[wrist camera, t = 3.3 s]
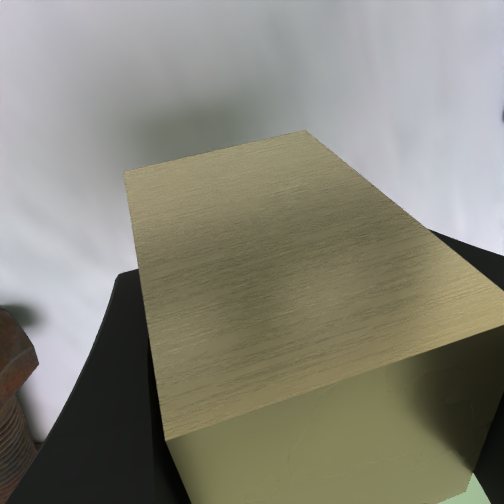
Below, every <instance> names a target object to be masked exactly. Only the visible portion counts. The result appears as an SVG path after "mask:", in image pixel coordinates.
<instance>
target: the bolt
mask: <svg viewBox="0 0 504 504" xmlns="http://www.w3.org/2000/svg"><path fill="white" fill-rule="evenodd" d="M38 365H39V362H38V358H37V355H36V352H35V349H34V346H33V344H32V342H31V341H30V339H29V338H28V336H27V335H26V333H25V332H24V331H23V329H22V328H21V327H20V325H19V324H18V323H17V322H16V320H15V319H14V318H13V317H12V315H10V314H9V313H8V312H7V311H5V310H3V309H0V504H4V503H5V502H6V500H7V499H8V497H9V496H10V494H11V493H12V491H13V490H14V488H15V487H16V485H17V484H18V482H19V481H20V479H21V478H22V476H23V474H24V473H25V471H26V470H27V468H28V467H29V465H30V463H31V462H32V460H33V459H34V457H35V456H36V454H37V452H38V451H39V449H40V448H41V446H42V444H41V443H33V441H32V438H31V435H30V432H29V429H28V426H27V423H26V421H25V418H24V416H23V413H22V410H21V407H20V405H19V402H18V399H17V396H16V392H17V391H18V389H19V388H20V387H21V386H22V385H23V383H24V382H25V381H26V380H27V378H28V377H29V376H30V375H31V374H32V372H33V371H34V370H35V369H36V367H37V366H38Z"/></svg>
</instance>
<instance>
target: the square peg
mask: <svg viewBox="0 0 504 504" xmlns="http://www.w3.org/2000/svg"><path fill="white" fill-rule="evenodd" d="M123 172H124V178H125V185H126V191H127V197H128V204H129V210H130V217H131V223H132V230H133V236H134V243H135V249H136V255H137V262H138V268H139V275H140V281H141V288H142V294H143V300H144V307H145V313H146V320H147V326H148V333H149V339H150V345H151V352H152V358H153V365H154V371H155V378H156V384H157V391H158V397H159V403H160V410H161V416H162V423H163V429H164V436H165V441H166V444H167V446H168V448H169V451H170V453H171V456H172V458H173V460H174V463H175V465H176V467H177V470H178V472H179V475H180V477H181V479H182V482H183V484H184V486H185V489H186V491H187V494H188V496H189V498H190V501H191V503H192V504H437V503H439V502H442V501H444V500H446V499H449V498H451V497H454V496H456V495H459V494H461V493H463V492H466V489H467V486H468V484H469V481H470V479H471V476H472V473H473V471H474V468H475V466H476V463H477V460H478V458H479V455H480V452H481V450H482V447H483V444H484V442H485V439H486V437H487V434H488V431H489V429H490V426H491V423H492V421H493V418H494V415H495V413H496V410H497V408H498V405H499V402H500V400H501V397H502V394H503V392H504V291H503V290H502V289H500V288H499V287H498V286H497V285H495V284H494V283H493V282H492V281H491V280H489V279H488V278H487V277H486V276H484V275H483V274H482V273H481V272H479V271H478V270H477V269H476V268H475V267H473V266H472V265H471V264H470V263H468V262H467V261H466V260H465V259H463V258H462V257H461V256H460V255H459V254H457V253H456V252H455V251H454V250H452V249H451V248H450V247H449V246H447V245H446V244H445V243H444V242H443V241H441V240H440V239H439V238H438V237H436V236H435V235H434V234H433V233H431V232H430V231H429V230H428V229H427V228H425V227H424V226H423V225H422V224H420V223H419V222H418V221H417V220H415V219H414V218H413V217H412V216H411V215H409V214H408V213H407V212H406V211H404V210H403V209H402V208H401V207H399V206H398V205H397V204H396V203H395V202H393V201H392V200H391V199H390V198H388V197H387V196H386V195H385V194H383V193H382V192H381V191H380V190H379V189H377V188H376V187H375V186H374V185H372V184H371V183H370V182H369V181H367V180H366V179H365V178H364V177H362V176H361V175H360V174H359V173H358V172H356V171H355V170H354V169H353V168H351V167H350V166H349V165H348V164H346V163H345V162H344V161H343V160H342V159H340V158H339V157H338V156H337V155H335V154H334V153H333V152H332V151H330V150H329V149H328V148H327V147H326V146H324V145H323V144H322V143H321V142H319V141H318V140H317V139H316V138H314V137H313V136H312V135H311V134H310V133H308V132H307V131H306V130H303V131H299V132H294V133H290V134H285V135H281V136H277V137H272V138H268V139H264V140H259V141H255V142H250V143H246V144H242V145H237V146H233V147H229V148H224V149H220V150H215V151H211V152H207V153H202V154H198V155H194V156H189V157H185V158H180V159H176V160H172V161H167V162H163V163H158V164H154V165H150V166H145V167H141V168H137V169H132V170H128V171H123Z"/></svg>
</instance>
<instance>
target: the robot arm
mask: <svg viewBox="0 0 504 504" xmlns="http://www.w3.org/2000/svg"><path fill="white" fill-rule="evenodd" d="M428 230H429V231H430V232H431V233H433V234H434V235H435V236H436V237H438V238H439V239H440V240H441V241H443V242H444V243H445V244H446V245H447V246H449V247H450V248H451V249H452V250H454V251H455V252H456V253H457V254H459V255H460V256H461V257H462V258H463V259H465V260H466V261H467V262H468V263H470V264H471V265H472V266H473V267H475V268H476V269H477V270H478V271H479V272H481V273H482V274H483V275H484V276H486V277H487V278H488V279H489V280H491V281H492V282H493V283H494V284H495V285H497V286H498V287H499V288H500V289H502V290H503V291H504V256H502V255H499V254H496V253H493V252H490V251H487V250H484V249H481V248H478V247H475V246H472V245H469V244H467V243H464V242H461V241H458V240H456V239H453V238H450V237H448V236H445V235H442V234H440V233H437V232H435V231H432V230H430V229H428ZM473 473H474V474H475V476H476V478H477V480H478V481H479V483H480V484H481V486H482V488H483V490H484V492H485V493H486V495H487V497H488V499H489V501H490V502H491V504H504V392H503V394H502V397H501V400H500V402H499V405H498V408H497V410H496V413H495V415H494V418H493V421H492V423H491V426H490V429H489V431H488V434H487V437H486V439H485V442H484V444H483V447H482V450H481V452H480V455H479V458H478V460H477V463H476V466H475V468H474V471H473ZM4 504H192V503H191V501H190V498H189V496H188V494H187V491H186V489H185V486H184V484H183V482H182V479H181V477H180V475H179V472H178V470H177V467H176V465H175V463H174V460H173V458H172V456H171V453H170V451H169V448H168V446H167V444H166V441H165V436H164V429H163V423H162V416H161V410H160V403H159V397H158V391H157V384H156V378H155V371H154V365H153V358H152V352H151V345H150V339H149V333H148V326H147V320H146V313H145V307H144V300H143V294H142V288H141V281H140V275H139V269H135V270H132V271H128V272H124V273H121V274H119V275H118V276H117V278H116V279H115V283H114V287H113V290H112V294H111V297H110V300H109V303H108V307H107V309H106V312H105V315H104V318H103V321H102V323H101V326H100V329H99V331H98V334H97V336H96V339H95V341H94V344H93V346H92V349H91V351H90V353H89V356H88V358H87V360H86V362H85V364H84V366H83V369H82V371H81V373H80V375H79V377H78V379H77V381H76V384H75V386H74V388H73V390H72V392H71V394H70V396H69V398H68V400H67V402H66V403H65V405H64V407H63V409H62V411H61V413H60V415H59V417H58V418H57V420H56V422H55V424H54V425H53V427H52V429H51V431H50V432H49V434H48V436H47V437H46V439H45V441H44V443H43V444H42V446H41V448H40V449H39V451H38V452H37V454H36V456H35V457H34V459H33V460H32V462H31V463H30V465H29V467H28V468H27V470H26V471H25V473H24V474H23V476H22V478H21V479H20V481H19V482H18V484H17V485H16V487H15V488H14V490H13V491H12V493H11V494H10V496H9V497H8V499H7V500H6V502H5V503H4Z"/></svg>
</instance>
